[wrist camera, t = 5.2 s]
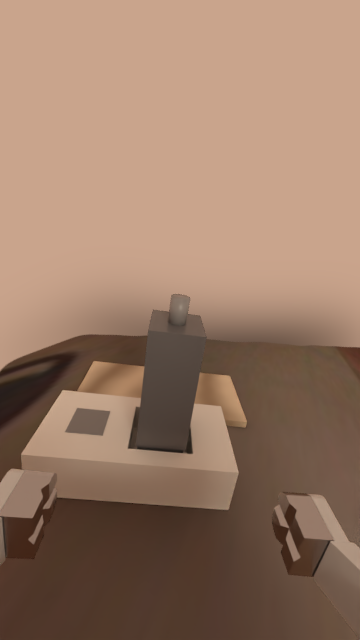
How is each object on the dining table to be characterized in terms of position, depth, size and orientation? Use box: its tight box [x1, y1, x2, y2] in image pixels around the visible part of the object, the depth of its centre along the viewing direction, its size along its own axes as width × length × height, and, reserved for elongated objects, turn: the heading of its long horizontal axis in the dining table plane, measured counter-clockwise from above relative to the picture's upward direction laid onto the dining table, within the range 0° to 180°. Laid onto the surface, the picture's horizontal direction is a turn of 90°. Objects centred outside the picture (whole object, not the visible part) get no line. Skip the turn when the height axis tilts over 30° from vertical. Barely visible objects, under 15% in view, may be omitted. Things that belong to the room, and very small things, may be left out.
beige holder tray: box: [21, 390, 239, 510], centre depth 25 cm, size 16×8×4 cm, turn 91°
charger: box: [136, 294, 206, 453], centre depth 23 cm, size 4×5×14 cm
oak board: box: [77, 361, 247, 427], centre depth 36 cm, size 20×10×1 cm, turn 91°
